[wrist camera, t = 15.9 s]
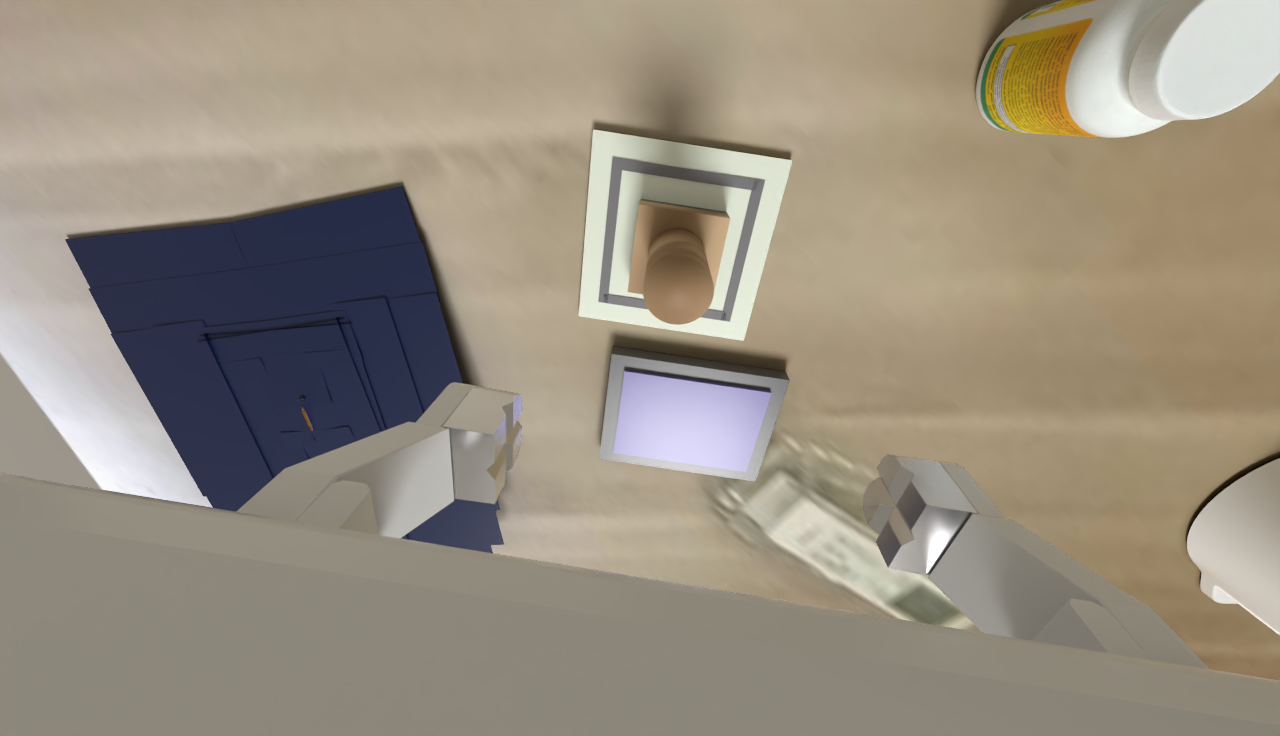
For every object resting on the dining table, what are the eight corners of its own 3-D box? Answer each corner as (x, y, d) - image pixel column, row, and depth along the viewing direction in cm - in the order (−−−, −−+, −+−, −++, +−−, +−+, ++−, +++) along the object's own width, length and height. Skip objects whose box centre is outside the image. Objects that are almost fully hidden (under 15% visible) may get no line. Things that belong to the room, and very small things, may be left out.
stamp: (726, 211, 27) (746, 245, 20) (708, 293, 29) (720, 349, 22) (641, 198, 27) (630, 227, 20) (630, 281, 29) (617, 333, 22)
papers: (282, 564, 43) (249, 596, 40) (109, 235, 33) (43, 241, 29) (531, 551, 40) (518, 584, 37) (430, 185, 30) (398, 185, 26)
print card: (790, 160, 26) (792, 160, 25) (742, 338, 31) (743, 341, 30) (594, 129, 25) (592, 129, 25) (579, 313, 31) (578, 316, 30)
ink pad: (785, 371, 32) (790, 382, 31) (752, 470, 36) (755, 484, 35) (613, 346, 32) (611, 355, 30) (601, 448, 36) (598, 461, 35)
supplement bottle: (1053, -24, 21) (1302, -117, 13) (1111, 62, 23) (1372, 29, 14) (948, 82, 24) (1104, 62, 15) (1008, 155, 25) (1181, 174, 16)
